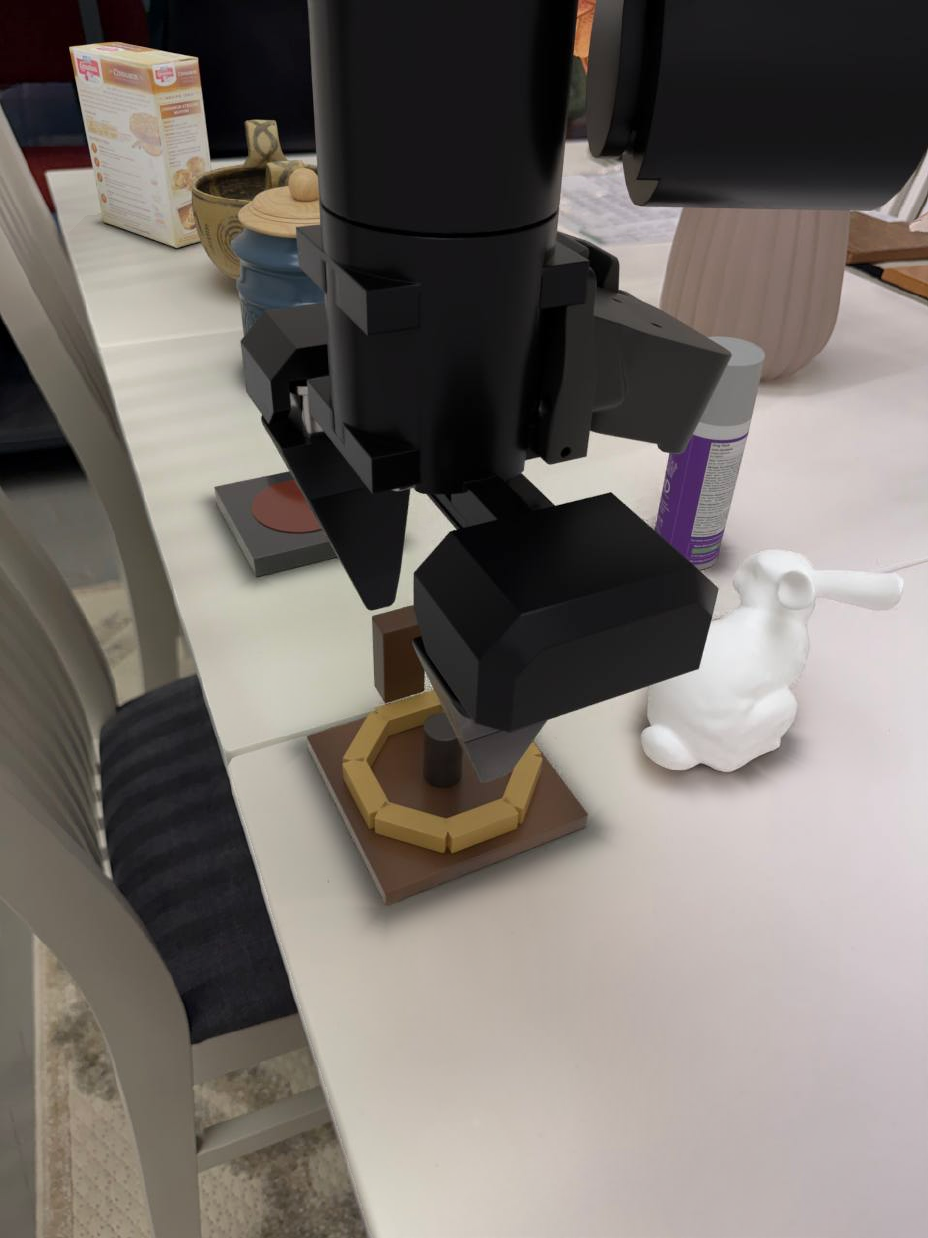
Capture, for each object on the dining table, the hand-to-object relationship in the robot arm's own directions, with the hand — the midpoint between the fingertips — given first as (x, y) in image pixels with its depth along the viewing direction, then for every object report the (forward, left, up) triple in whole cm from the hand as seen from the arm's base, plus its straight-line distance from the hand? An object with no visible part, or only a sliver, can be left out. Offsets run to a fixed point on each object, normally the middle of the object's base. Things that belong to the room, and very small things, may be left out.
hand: (431, 682), depth 32 cm
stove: (+6, +35, -16) cm, 39 cm away
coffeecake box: (+12, +106, -16) cm, 108 cm away
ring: (+5, +8, -15) cm, 18 cm away
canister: (+16, +59, -16) cm, 63 cm away
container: (+30, +21, -16) cm, 40 cm away
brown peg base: (+5, +8, -16) cm, 19 cm away
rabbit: (+22, +6, -16) cm, 28 cm away
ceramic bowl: (+20, +82, -16) cm, 86 cm away
